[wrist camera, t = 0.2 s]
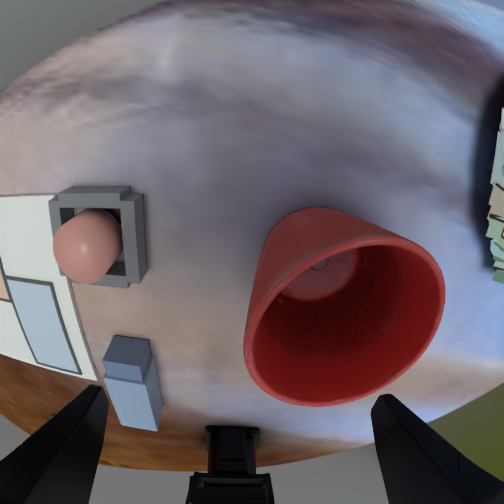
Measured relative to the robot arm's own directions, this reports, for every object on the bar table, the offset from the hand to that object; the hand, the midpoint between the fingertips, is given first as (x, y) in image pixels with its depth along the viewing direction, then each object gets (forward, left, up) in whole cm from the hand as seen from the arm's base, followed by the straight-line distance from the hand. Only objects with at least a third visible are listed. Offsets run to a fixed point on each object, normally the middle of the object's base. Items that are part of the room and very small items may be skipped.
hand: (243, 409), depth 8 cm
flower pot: (-1, -5, -15) cm, 16 cm away
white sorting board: (-7, +23, -14) cm, 28 cm away
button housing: (0, +11, -14) cm, 18 cm away
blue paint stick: (-15, +9, -15) cm, 23 cm away
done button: (0, +11, -14) cm, 18 cm away
